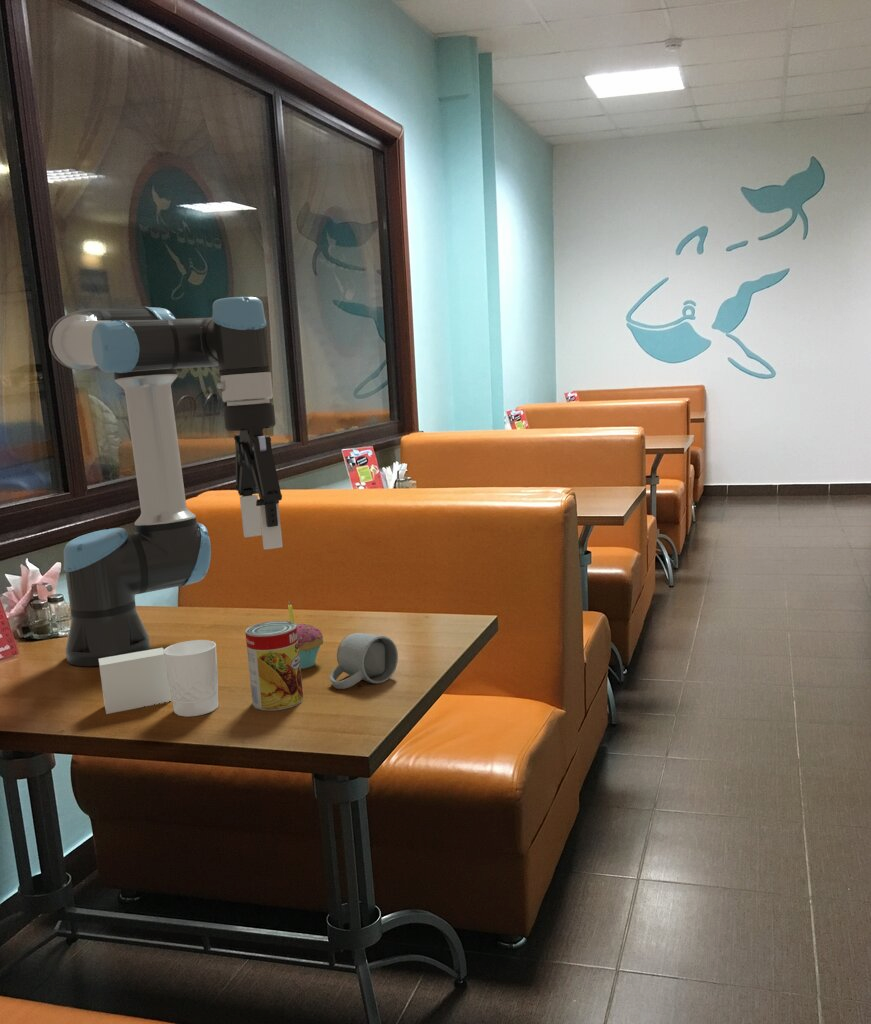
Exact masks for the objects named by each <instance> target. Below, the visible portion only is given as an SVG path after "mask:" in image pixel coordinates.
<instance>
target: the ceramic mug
mask: <svg viewBox="0 0 871 1024" xmlns="http://www.w3.org/2000/svg"><path fill="white" fill-rule="evenodd" d="M395 643H396V642H394V641H393V640H392V638H390V637H388V636H386V635H382V634H381V635H378V634H373V633H372V634H371V633H365V632H355V633H351V634H348V635H346V636H345V637H344V638H343V639H342V640H341V642H340V643H339V645H338V647H337V652H336V661H337V663H338V665H337V666H336V667H335V668H334V669H333V670H332V671H331V673H330V676H329V680H330V682H331V684H332V685H333V687H334V688H336V689H338V690H345V689H348V688H352V687H353V686H355V685H356V684H358V683H359V682H360V681H361V680H362V681H365V682H368V683H371V684H382V683H385V682H387V681H389V679H390V678H392V676H393V674H394V673H395V672H396V670H397V666H398V661H399V653H398V648H397V645H396V644H395ZM343 672H344V673H345V674H347V675H348V676H349V677H347V678H345V679H343V680H337V679H338V678H339V677H340V676H341V674H343Z"/></svg>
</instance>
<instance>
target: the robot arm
mask: <svg viewBox="0 0 871 1024" xmlns="http://www.w3.org/2000/svg"><path fill="white" fill-rule="evenodd" d="M264 309H265V308H264V304H263V301H262V300H261V299H260V298H258V297H254V296H234V297H233V296H232V297H225V298H219V299H218V298H217V299H216V300H214V301H213V303H212V314H211V317H195V318H194V317H192V318H191V317H190V318H189V317H187V318H176V317H175V316H174V314H173V313H172V312H171V311H170V310H168V309H167V308H162V307H154V306H153V307H150V306H140V307H139V306H136V307H115V308H114V307H113V308H109V307H108V308H86V309H81V310H77V311H72V312H69V313H68V314H66V315H63V316H62V317H60V318H58V319H57V321H56V322H54V324H53V325H52V327H51V328H50V331H49V335H48V347H49V349H50V351H51V354H52V356H53V358H54V359H55V360H56V361H57V362H58V363H60V364H61V365H63V366H65V367H67V368H68V369H71V370H75V371H81V372H88V373H102V372H103V373H113V378H114V382H115V383H116V384H118V385H119V386H120V387H121V388H122V389H123V390H124V394H125V395H124V396H125V403H126V409H127V415H128V416H127V417H128V423H129V431H130V438H131V439H130V440H131V446H132V454H133V461H134V463H133V464H134V467H135V469H134V470H135V476H136V484H137V492H138V498H139V507H140V515H139V517H138V518H137V519H136V520H135V521H134V528H135V529H134V531H135V532H134V533H130V534H129V532H128V531H127V530H126V529H125V528H123V527H112V528H108V529H101V530H97V531H96V530H95V531H93V532H89V533H86V534H83V535H80V536H77V537H76V538H73V539H71V540H70V541H68V542H67V543H66V545H65V546H64V548H63V571H64V572H65V579H66V580H65V581H66V586H67V587H66V588H67V594H68V601H69V610H70V617H71V618H70V619H71V621H70V627H69V633H68V636H67V642H66V645H65V646H66V647H65V655H66V661H67V663H68V664H69V665H72V666H78V667H98V666H99V660H98V659H100V658H105V657H111V656H117V655H123V654H128V653H134V652H140V651H146V650H151V642H150V637H149V633H148V631H147V630H146V627H145V625H144V623H143V621H142V619H141V617H140V615H139V613H138V611H137V605H136V598H135V597H136V596H137V595H141V594H146V593H150V592H151V593H152V592H156V591H161V590H166V589H171V588H176V587H180V588H183V587H186V586H187V585H192V584H195V583H199V582H201V581H202V580H203V579H204V578H205V577H206V575H207V573H208V570H209V568H210V564H211V556H212V548H211V547H212V546H211V544H212V543H211V538H210V536H209V531H208V529H207V527H206V526H205V525H204V524H203V523H200V522H198V521H197V516H196V514H195V513H193V512H192V511H190V509H188V508H187V500H186V492H185V486H184V479H183V478H184V476H183V470H182V462H181V454H180V447H179V440H178V432H177V424H176V417H175V416H176V415H175V409H174V401H173V394H172V392H173V391H172V387H171V386H172V385H173V383H174V381H175V380H176V379H177V378H178V370H177V369H194V368H204V369H205V368H208V369H209V368H210V369H211V368H218V374H219V377H220V381H219V382H217V383H216V388H217V389H218V390H219V389H220V390H221V399H222V400H221V401H222V402H223V403H226V405H225V406H224V407H223V409H222V410H223V411H222V412H223V420H224V427H225V428H224V429H225V430H227V431H229V432H238V431H239V433H238V434H237V433H235V434H234V437H233V440H234V443H235V444H234V445H235V487H234V488H235V489H236V490H235V491H236V492H237V493H238V496H239V503H240V513H241V522H242V531H243V532H242V533H243V537H244V538H252V537H253V538H254V537H258V536H261V537H262V547H263V548H262V549H263V550H272V549H280V548H283V545H284V544H283V538H282V537H283V535H282V526H281V525H282V524H281V517H280V506H279V503H280V501H282V499H283V494H282V492H281V488H280V487H281V486H280V483H279V482H280V481H279V478H278V472H277V467H276V463H275V459H274V454H273V449H272V438H271V436H270V435H264V429H271V428H273V427H275V426H276V413H275V404H273V402H270V400H271V399H273V398H274V390H273V380H272V372H271V365H270V356H269V346H268V345H269V344H268V343H269V342H268V331H267V320H266V315H265V310H264Z"/></svg>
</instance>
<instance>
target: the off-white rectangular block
mask: <svg viewBox="0 0 871 1024" xmlns="http://www.w3.org/2000/svg"><path fill="white" fill-rule="evenodd" d="M164 649H165V648H164V647H158V648H152V649H151V648H150V650H146V651H140V652H134V653H128V654H123V655H117V656H111V657H105V658H100V659H98V660H99V674H100V682H101V688H102V689H101V690H102V697H103V698H102V699H103V704H104V710H105V714H106V715H109V714H114V713H119V712H124V711H129V710H135V709H139V708H144V706H145V707H149V706H155V705H159V703H160V704H165V703H164V702H166V703H169V701H171V702H173V700H172V696H171V693H170V687H169V682H168V677H167V671H166V664H165V658H164V652H163V651H164ZM154 704H155V705H154Z"/></svg>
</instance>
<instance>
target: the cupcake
mask: <svg viewBox="0 0 871 1024" xmlns="http://www.w3.org/2000/svg"><path fill="white" fill-rule="evenodd" d="M290 602H291V601H287V603H288V606H287V608H288V614H289V621H290V622H293V623H295V624H296V622H295V621H296V620H295V616H294V611H293V605H292V604H290ZM296 625H297V636H298V647H299V658H300V668H301V670H302V669H303V670H304V669H307V668H311V667H313V666H314V665H315V664H316V659H317V656H318V652H319V650H320V648H321V646H322V645H323V644H324V636H323V632H322V631H321V629H319V628H316V627H314V626H313V625H310V624H304V623H299V624H298V623H297V624H296Z"/></svg>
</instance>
